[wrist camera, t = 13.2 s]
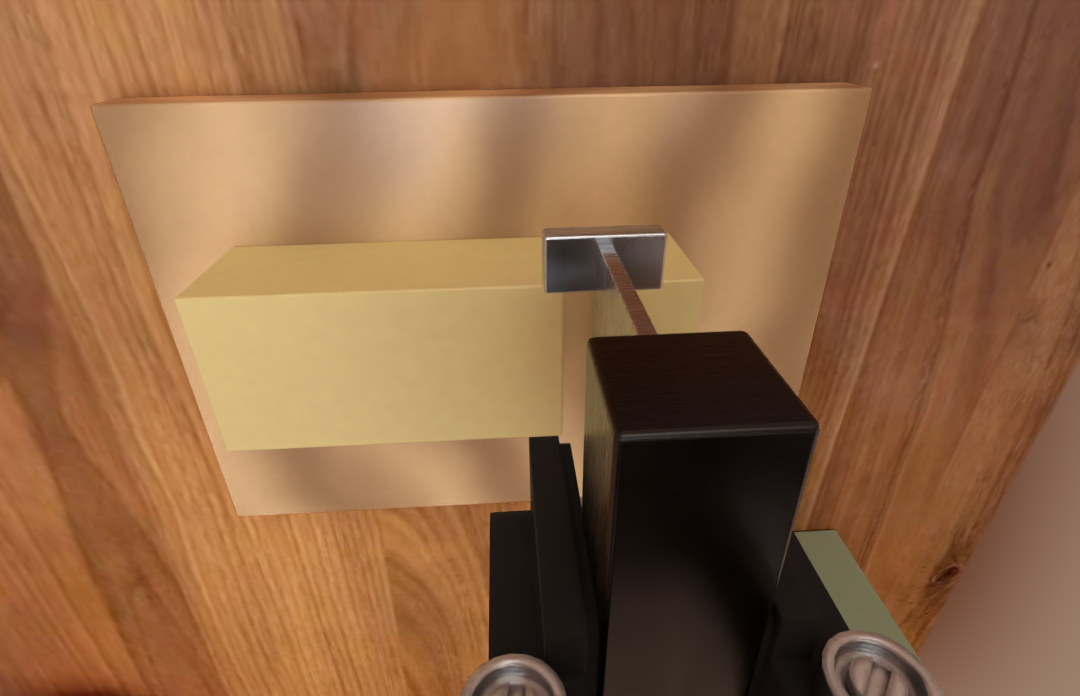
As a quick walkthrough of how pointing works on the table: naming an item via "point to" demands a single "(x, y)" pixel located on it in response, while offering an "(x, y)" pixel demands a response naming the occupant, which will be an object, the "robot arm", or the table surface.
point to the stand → (849, 585)
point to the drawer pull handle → (677, 476)
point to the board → (489, 225)
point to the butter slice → (675, 294)
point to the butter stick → (377, 343)
